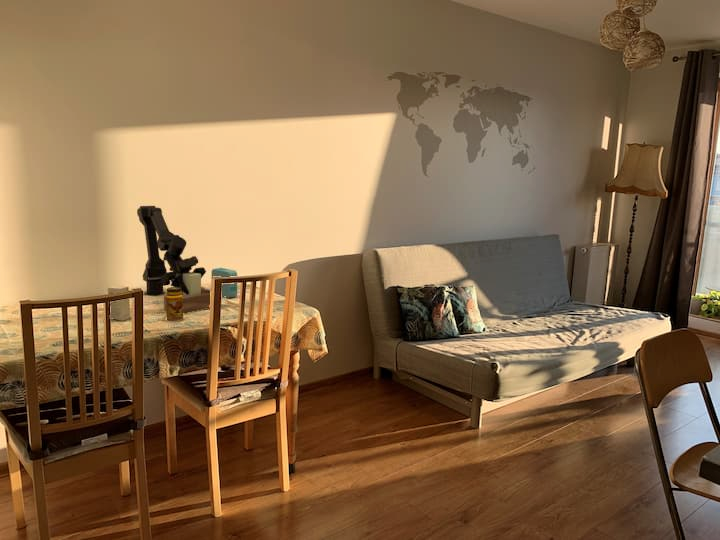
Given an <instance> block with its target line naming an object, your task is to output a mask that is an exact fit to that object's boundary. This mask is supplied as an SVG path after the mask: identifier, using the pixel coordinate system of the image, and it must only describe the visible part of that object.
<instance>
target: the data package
mask: <svg viewBox="0 0 720 540" xmlns="http://www.w3.org/2000/svg"><path fill="white" fill-rule="evenodd" d="M213 276H221V277H230V276H237V277H238V272H237V271H236V269H235V270H234V269H229V268H225V267H224V268H223V267H218V268H217V267H216V268H213V269H211V278H212V277H213ZM223 296H226V297H232V298H234V297H233V296H236V297H237V296H238V282H237V283H234V284H223V285H222V297H221V298H224V297H223Z"/></svg>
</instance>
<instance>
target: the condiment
mask: <svg viewBox="0 0 720 540" xmlns="http://www.w3.org/2000/svg"><path fill="white" fill-rule="evenodd" d="M181 290H182V289H181V288H180V287H173V286H170V287H168V288H166V294H165V295H166V310H165V311H166V314H165V316H164V317H161V318H158V319H159V320H158V321H167V322H172V321H173V323H179V322H181V321H183V320H182V319H184V320H186V319H188V318H189V317H188V316H184V314H183V296H182V294H181V293H182V292H181ZM166 317H167V320H164V319H165V318H166Z"/></svg>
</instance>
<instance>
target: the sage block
mask: <svg viewBox="0 0 720 540" xmlns="http://www.w3.org/2000/svg"><path fill="white" fill-rule="evenodd" d="M183 282H184V284H185V286H186V287H187V289H188V291H189V294H186V293H184V292H183V298H187V297H192V296H197V295H201V287H202V278H201V274H198V273H185V274H183Z"/></svg>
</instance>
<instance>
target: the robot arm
mask: <svg viewBox="0 0 720 540" xmlns="http://www.w3.org/2000/svg"><path fill="white" fill-rule="evenodd" d="M136 214H137V217H138V220H139V222H140V223H141V225H142V226H143V228H144V236H145V241H146V248H147V249H146V250H147V257H148V259H147V261H146V262H145V269H144V271H143V274H142V281H144V282H146V283H145V284H146V292H144V293H143V294H144V295H149V296H159V295H162V294H165V293H166V291H164V287H165V286H170V287H180V288H181V289H182V290H181V291H182V292H184V293H186V294H189V291H188V289H187V287H186V286H185V284H184V282H183V274H185V273H198V274H201V279H202V278H203V277H204V275H205V274H206V273H207V270H206V269H205V267H201V266H200V267H196V268H194V269H193V267H194V266H197V264H199V259H198V257H197V256H196V255H194V256H193V255H192V256H191V257H188V258H184V259H183V258H182V257H181V255H183V253H184V251H185V248H186V246H187V240H185V239H184V238H183V237H181V236H180V234H175V233H173V232H172V231H170V229H169V227H168V225H167V223H166V221H165V218H164V215H163V210H162V208H161V207H156V206H155V205H140V206H139V207H138V208H137V211H136ZM160 251H161V252H164V251H165V253H164V254H163V259H162V258H161V257H160ZM166 262H167V264H168V265H169V267H170V268H169V269H168V270H169V271H168V270H167V267H166V265H165V263H166ZM192 269H193V270H192Z"/></svg>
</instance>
